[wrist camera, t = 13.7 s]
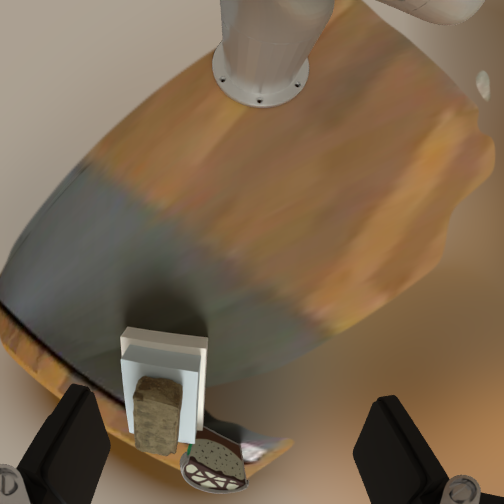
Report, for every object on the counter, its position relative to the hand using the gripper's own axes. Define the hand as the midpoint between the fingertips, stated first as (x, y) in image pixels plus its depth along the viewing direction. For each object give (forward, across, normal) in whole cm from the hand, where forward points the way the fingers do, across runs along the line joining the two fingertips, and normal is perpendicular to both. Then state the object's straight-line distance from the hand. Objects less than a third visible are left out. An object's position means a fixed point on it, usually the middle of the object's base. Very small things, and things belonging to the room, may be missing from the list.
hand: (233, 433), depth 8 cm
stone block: (+23, +9, +22) cm, 33 cm away
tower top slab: (+27, +9, +22) cm, 36 cm away
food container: (+30, +3, +37) cm, 48 cm away
